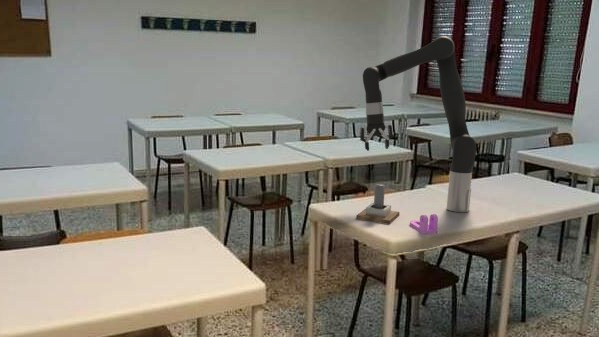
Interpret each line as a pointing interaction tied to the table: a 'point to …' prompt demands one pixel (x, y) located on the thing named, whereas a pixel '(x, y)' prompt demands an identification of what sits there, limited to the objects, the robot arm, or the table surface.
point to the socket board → (378, 214)
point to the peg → (379, 196)
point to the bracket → (426, 224)
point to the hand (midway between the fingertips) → (377, 149)
